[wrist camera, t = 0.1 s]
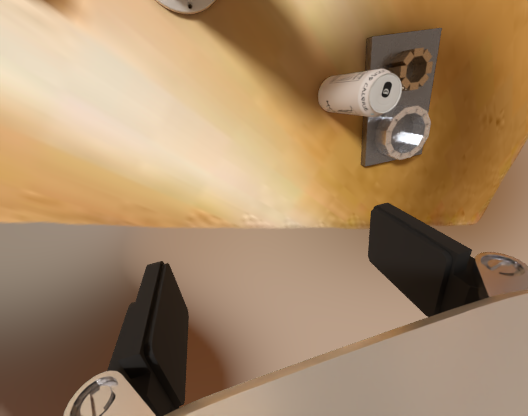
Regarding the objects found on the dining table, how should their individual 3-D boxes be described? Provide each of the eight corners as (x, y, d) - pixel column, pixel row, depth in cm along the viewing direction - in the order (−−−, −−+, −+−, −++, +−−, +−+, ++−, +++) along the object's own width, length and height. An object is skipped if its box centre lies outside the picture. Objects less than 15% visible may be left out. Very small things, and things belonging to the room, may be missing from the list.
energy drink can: (312, 109, 45) (359, 114, 32) (320, 72, 43) (374, 62, 30) (340, 114, 47) (396, 121, 34) (349, 79, 44) (412, 72, 31)
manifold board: (366, 38, 42) (384, 32, 38) (434, 29, 44) (457, 23, 41) (360, 164, 53) (374, 170, 49) (416, 152, 55) (433, 157, 51)
